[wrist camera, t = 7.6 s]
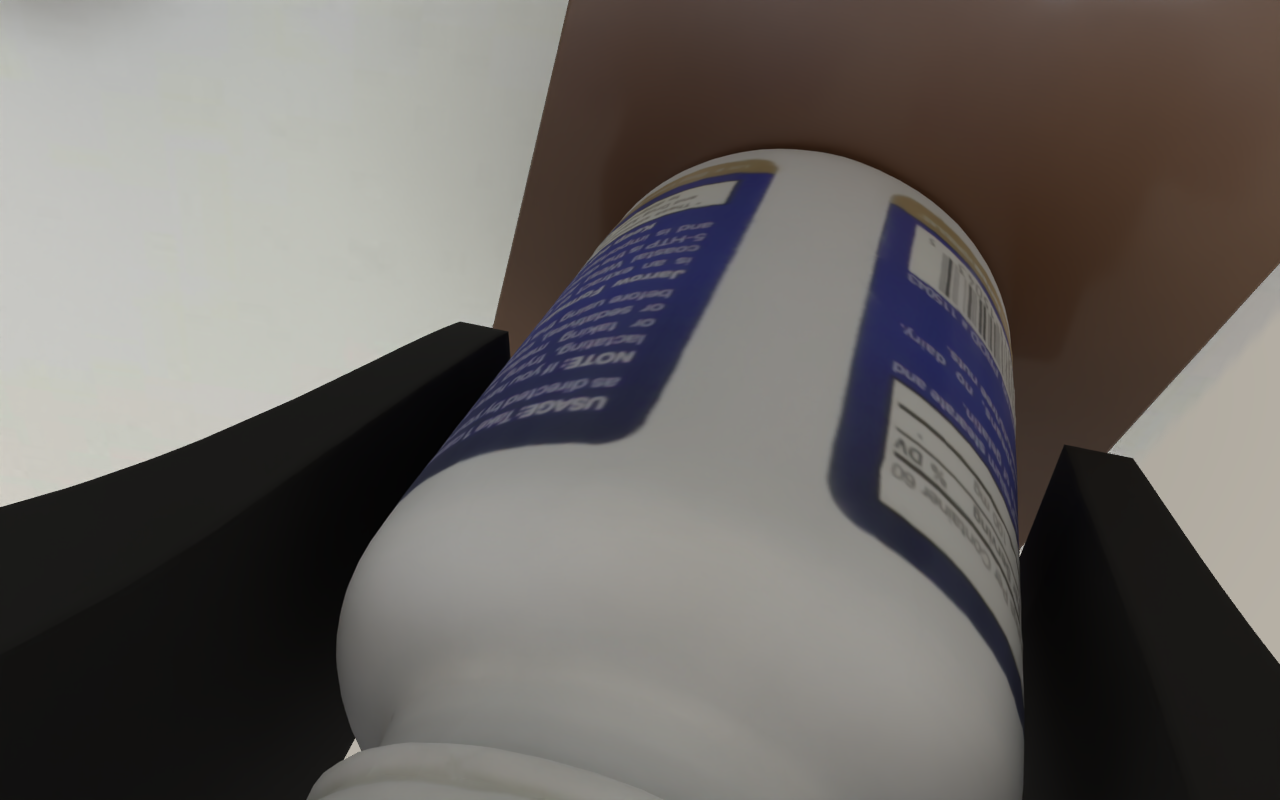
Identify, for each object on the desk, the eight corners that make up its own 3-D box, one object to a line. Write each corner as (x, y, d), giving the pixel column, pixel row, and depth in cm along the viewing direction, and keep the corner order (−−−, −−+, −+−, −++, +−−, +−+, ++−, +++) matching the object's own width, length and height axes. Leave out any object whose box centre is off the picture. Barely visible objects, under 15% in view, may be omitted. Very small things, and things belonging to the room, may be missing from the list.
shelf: (906, 464, 20) (872, 712, 15) (588, 318, 21) (449, 510, 16) (1310, -106, 13) (1523, -2, 7) (790, -312, 13) (649, -352, 8)
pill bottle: (589, 443, 14) (172, 1142, 7) (609, 100, 10) (-140, 763, 4) (945, 542, 13) (874, 1490, 6) (1087, 192, 9) (1313, 1390, 3)
